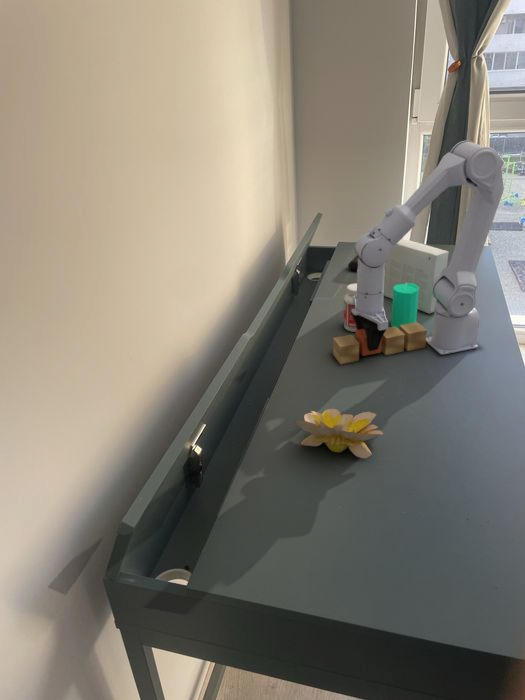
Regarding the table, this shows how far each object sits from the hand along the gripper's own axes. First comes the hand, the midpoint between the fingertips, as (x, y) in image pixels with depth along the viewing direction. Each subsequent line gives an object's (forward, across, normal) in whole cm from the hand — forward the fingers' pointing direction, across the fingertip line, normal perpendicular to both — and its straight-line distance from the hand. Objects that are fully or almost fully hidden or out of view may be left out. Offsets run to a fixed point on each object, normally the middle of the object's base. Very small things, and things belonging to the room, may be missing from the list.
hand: (368, 344), depth 121 cm
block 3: (+2, 0, +11) cm, 11 cm away
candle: (+3, -9, +14) cm, 16 cm away
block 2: (+2, 0, +6) cm, 6 cm away
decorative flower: (+3, +28, -18) cm, 33 cm away
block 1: (+2, 0, -6) cm, 6 cm away
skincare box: (+3, -23, +22) cm, 32 cm away
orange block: (+1, 0, 0) cm, 1 cm away
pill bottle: (+3, -13, +2) cm, 13 cm away
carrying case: (+2, -48, +24) cm, 54 cm away
